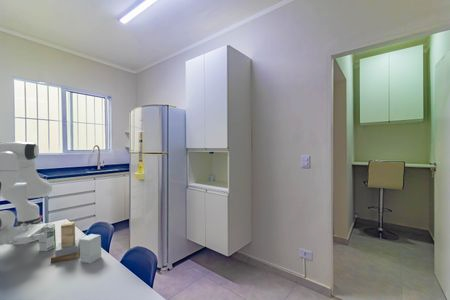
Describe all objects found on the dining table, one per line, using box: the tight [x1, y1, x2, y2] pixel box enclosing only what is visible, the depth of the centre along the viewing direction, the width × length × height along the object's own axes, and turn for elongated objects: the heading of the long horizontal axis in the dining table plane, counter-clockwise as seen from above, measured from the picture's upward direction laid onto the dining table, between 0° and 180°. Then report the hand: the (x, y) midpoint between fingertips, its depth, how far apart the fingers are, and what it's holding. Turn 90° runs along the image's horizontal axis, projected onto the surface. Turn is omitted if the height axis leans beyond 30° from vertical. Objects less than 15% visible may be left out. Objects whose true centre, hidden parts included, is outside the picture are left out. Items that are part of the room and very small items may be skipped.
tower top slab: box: [54, 239, 80, 257], centre depth 121 cm, size 10×10×4 cm
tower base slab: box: [50, 246, 80, 264], centre depth 122 cm, size 12×12×4 cm
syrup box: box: [38, 223, 57, 252], centre depth 131 cm, size 6×6×14 cm
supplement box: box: [78, 233, 102, 264], centre depth 117 cm, size 7×7×13 cm
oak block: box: [60, 221, 76, 247], centre depth 121 cm, size 5×5×12 cm
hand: (49, 231), depth 119 cm, fingers open, 8 cm apart
